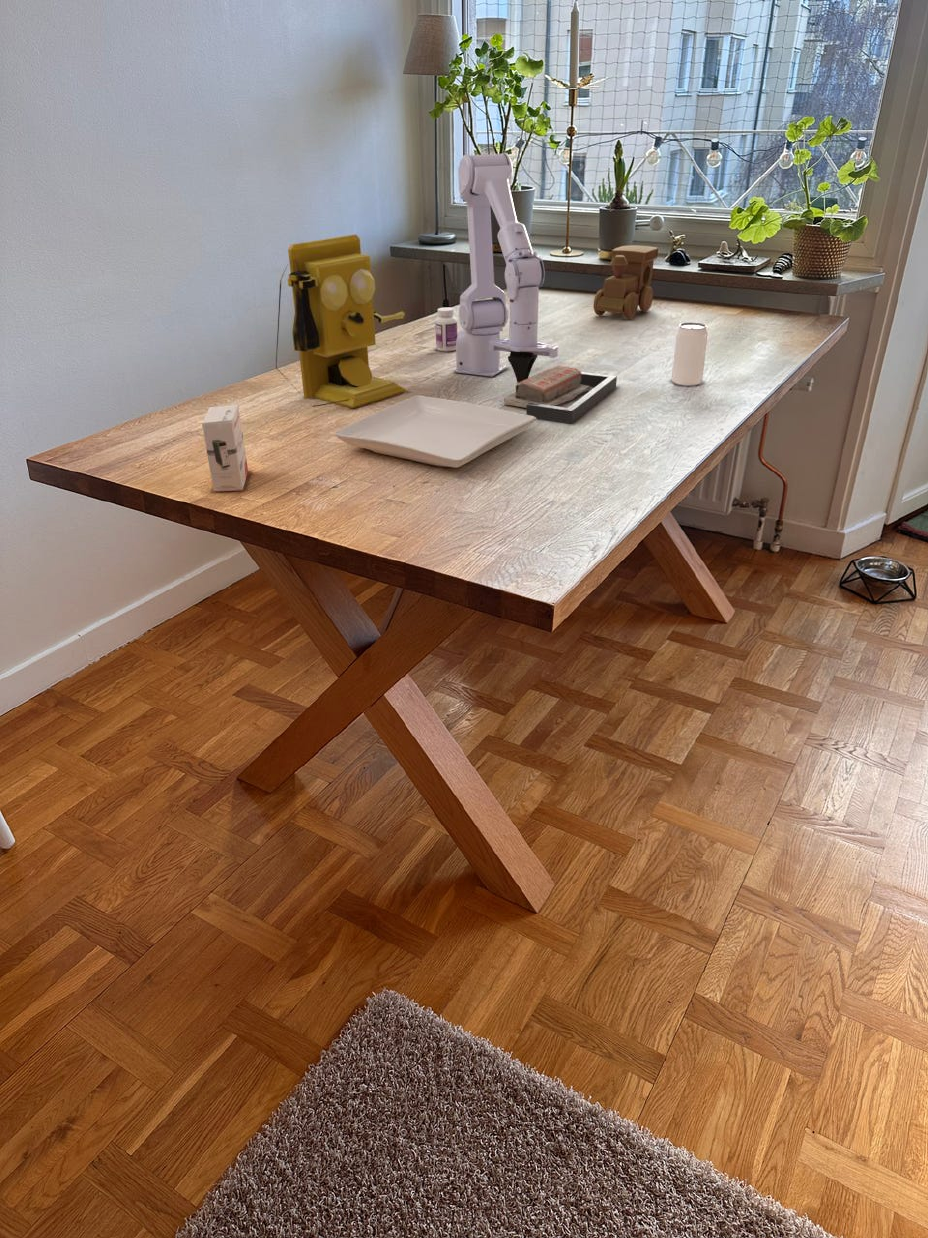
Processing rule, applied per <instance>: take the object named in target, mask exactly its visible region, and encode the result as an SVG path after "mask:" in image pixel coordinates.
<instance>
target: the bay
mask: <svg viewBox="0 0 928 1238" xmlns="http://www.w3.org/2000/svg"><path fill="white" fill-rule="evenodd" d="M581 378H582V379H581V382H580V384H582V385H587V386H590V388H591V389H590V390H588V391H587V392H586V393H585V394H584V395H583V396H581V397H580V398H579V399H577V400H576V401H575V402H573V403H572V404H571V405H570V406H567V407H564V406H558V405H556V406H550V405H543V404H536V403H528V404H527V408H526V411H525V412H526V414H525V415H530V416H534V417H536V420H543V421H550V422H558V423H564V424H573V423H575V422H576V421H577V420H579V418H581V417H582V416H583V415H584V414H586V413H587V412H588V411H589V410H590V409H592V408H593V407H595V406H596V405H597V404H598V403H599V402H601V401H602V400H603V399H604V398H605V397H607V396H608V395H609V394H611V393H612V392H613V391H614V390H615V389H616V388H617V382H618V381H617V380H618V376H617V375H610V374H602V373H594V372H586V371H581Z"/></svg>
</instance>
